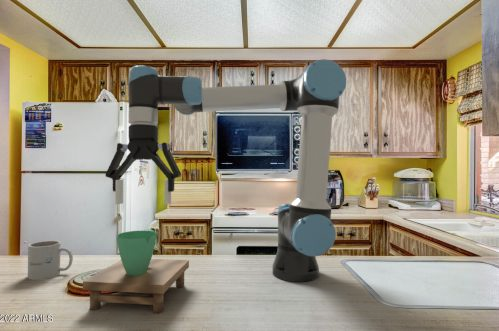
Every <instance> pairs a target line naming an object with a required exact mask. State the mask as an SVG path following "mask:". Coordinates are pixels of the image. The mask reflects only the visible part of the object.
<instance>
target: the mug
mask: <svg viewBox="0 0 499 331" xmlns="http://www.w3.org/2000/svg"><path fill="white" fill-rule="evenodd" d="M61 243H62V242H61V241H60V240H44V241H36V242H33V243H29V244H28V246H27V279H28V278H29V279H28V280H30V279H32V280H31V281H43V280H48V279H52V278H55V277H57V276H59V275H60V274H61V272H64V271H65V272H66V271H67V270H69V269H70V268H71V266H72V264H73V259H74V258H73V256H74V255H73V253H72V250H71V249H70V248H68V247H61V245H62V244H61ZM61 252H66V253H67V254H68V257H69V259H68V260H69V262H68V265H66V266H65V267H62V266H61ZM42 279H43V280H42Z"/></svg>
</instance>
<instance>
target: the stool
mask: <svg viewBox="0 0 499 331" xmlns="http://www.w3.org/2000/svg"><path fill="white" fill-rule="evenodd" d="M189 267H190V260H187V259H165V258H163V259H162V258H151V261H150V264H149V266H148V269H147V271H146V273H145V274H142V275H138V276H129V275H127V274H126V271H125V269H124V266H123V264H122V260H121V259H120V260H118V261H117V262H115V263H113V264H112V265H110V266H108V267H106V268H104V269H102V270H100V271H99V272H97V273H95V274H94V275H92V276H90V277H88V278H87V279H85V280H82V290H84V291H89V310H92V311H93V310H99V309H101V306H102V305H101V303H111V304H116V303H117V304H134V305H150V306H151V305H152V313H153V314H161V313H163V312H164V296H165V293H166V292H167V291H168V290H169V289H170V287H172V286H173V284H174V283H175V288H178V289H179V288H180V289H182V288H184V287H185V272H186V270H188V269H189ZM102 291H103V292H104V293H102ZM105 292H116V293H105ZM117 292H122V293H139V294H122V293H121V294H120V293H117ZM141 294H144V295H141ZM145 294H152V295H145Z"/></svg>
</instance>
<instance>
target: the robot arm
mask: <svg viewBox="0 0 499 331" xmlns="http://www.w3.org/2000/svg"><path fill="white" fill-rule="evenodd" d="M128 72H129V73H128V84H127V85H128V124H130V125H129V126H128V143H122V142H118V143H117V144H116V150H115V153H114V156H113V157H112V160H111V162H110V164H109V166H108V168H107V170H106V172H105V177H106V178H110V179H112V180H111V181H112V191H113V192H115V202H114V203H115V205H121V204H124V179H122V177H123V175H124V174H126V172H127V171H128V169H130V167H131V166H132V165H133V163H134V162H135V161H137V160H138V161H139V160H140V161H141V160H142V161H143V160H146V161H147V160H151V161H153V163H155V165H156V166H157V167H158V169H159V170H160V171H161V172H162V174H163V175H164V176H165V177H166V179H164V205H168V206H169V205H171V204H172V192H174V191H175V180H176V179H178V178H180V177H181V176H182V172H181V171H180V169H179V166H178V165H177V162H176V160H175V158H174V156H173V153H172V152H171V146H170V144H169V143H168V142H162V143H159V127H158V126H157V125H158V124H159V115H158V114H159V105H173V106H174V108H175V110H176V111H178V112H179V113H180V114H181V115H185V116H189V115H192V114H194V113H205V112H225V111H226V112H227V111H228V112H229V111H245V110H266V109H268V110H269V109H280V111H281V112H287V111H288V112H294V111H295V112H296V111H297V112H298V113H299V114H300V116H301V122H300V124H301V125H300V139H299V149H298V150H299V151H298V163H297V165H298V166H297V175H296V176H297V177H296V178H297V179H296V192H295V198H294V200H292V201H291V202H290V203H281V204H279V206H278V209H277V252H276V254H275V257H274V261H273V264H272V267H271V268H272V272H271V273H272V275H273V276H274V277H276V278H277V279H280V280H283V281H289V282H297V283H298V282H310V281H314V280H316V279H319V276H320V267H319V264H318V260H317V258H316V257H318V256H323V255H325V253H327V252H328V251H329V250H330V249H332V247H333V246H334V243H335V241H336V236H337V234H336V228H335V225H334V224H333V222H332V220H331V218H332V206H331V205H330V204H329V202H328V201H327V195H328V193H327V192H328V183H329V182H328V181H329V179H328V178H329V169H330V155H331V154H330V153H331V140H332V139H331V137H332V125H333V117H334V116H335V115H336V114H337V113H339V107H340V106H339V105H340V97H341V96H342V95H343V93H344V91H345V89H346V86H347V76H346V73H345V71H344V69H343V68H342V67H341V66H340V65H339V64H338V63H336V62H335V61H334V60H331V59H317V60H315V61H313V62H312V63H310V64H308V65H307V66H306V67H305V68H304V70H303V72H302V73H301V74H300V75H299V76H298V77H296V78H294V79H291V80H281V81H280V82H279V83H278V84H257V85H239V86H237V85H236V86H211V87H209V86H208V87H203V84H202V83H203V82H202V81H203V80H202V79H201V78H200V77H199V76H198V77H197V76H190V75H186V76H181V75H180V76H179V75H178V76H176V75H159V72H158V69H156V68H155V67H152V66H148V65H141V64H139V65H134V66H132V67H131V68H130V69H129V71H128ZM159 150H160V151H161V152H162V153H163V156H164V157H165V160H166V161H167V163H168V166H169V167H168V166H167V165H166V164H165V162H164V160H162V158H161V157H160V155H159V154H158V153H157V152H158V151H159ZM127 151H128V152H129V153H128V154H127V155H126V154H125V153H126V152H127ZM125 155H126V158H125V160H124V161H122V160H123V159H124V156H125ZM120 164H121V165H120Z"/></svg>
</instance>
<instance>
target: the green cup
mask: <svg viewBox="0 0 499 331" xmlns="http://www.w3.org/2000/svg"><path fill="white" fill-rule="evenodd" d="M156 242H157V232H156V231H155V230H153V229H149V230H133V231H131V230H130V231H124V232H121V233H118V234H117V235H116V244H117V248H118V252H119V257H120V260H122V264H123V266H124V269H125V271H126V274H127V275H129V276H138V275H142V274H145V273H146V271H147V269H148V266H149V264H150V261H151V259H153V258H152V257H153V255H154V250H155V246H156Z"/></svg>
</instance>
